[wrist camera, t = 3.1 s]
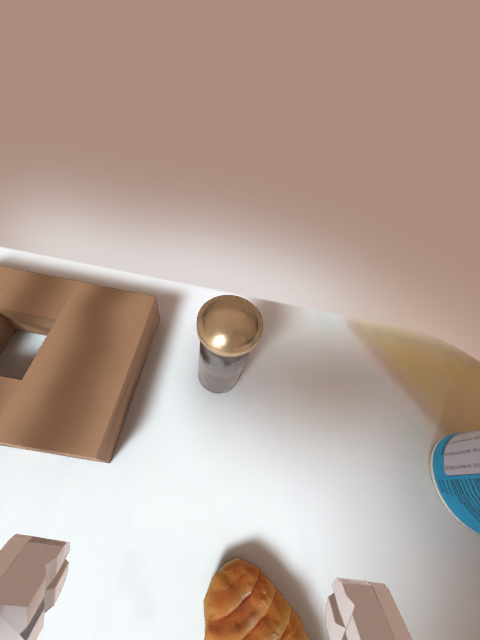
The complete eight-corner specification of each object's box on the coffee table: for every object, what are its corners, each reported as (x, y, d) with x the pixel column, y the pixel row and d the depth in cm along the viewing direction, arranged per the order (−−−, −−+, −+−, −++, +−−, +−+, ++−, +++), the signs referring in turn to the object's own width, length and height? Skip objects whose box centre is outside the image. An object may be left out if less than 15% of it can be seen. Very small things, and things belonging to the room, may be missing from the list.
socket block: (159, 318, 30) (155, 296, 27) (109, 463, 23) (95, 457, 19) (-33, 281, 29) (-63, 253, 26) (-152, 419, 22) (-215, 406, 18)
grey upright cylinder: (250, 372, 29) (275, 321, 20) (220, 406, 26) (234, 366, 18) (217, 343, 30) (227, 284, 21) (185, 374, 28) (182, 322, 19)
